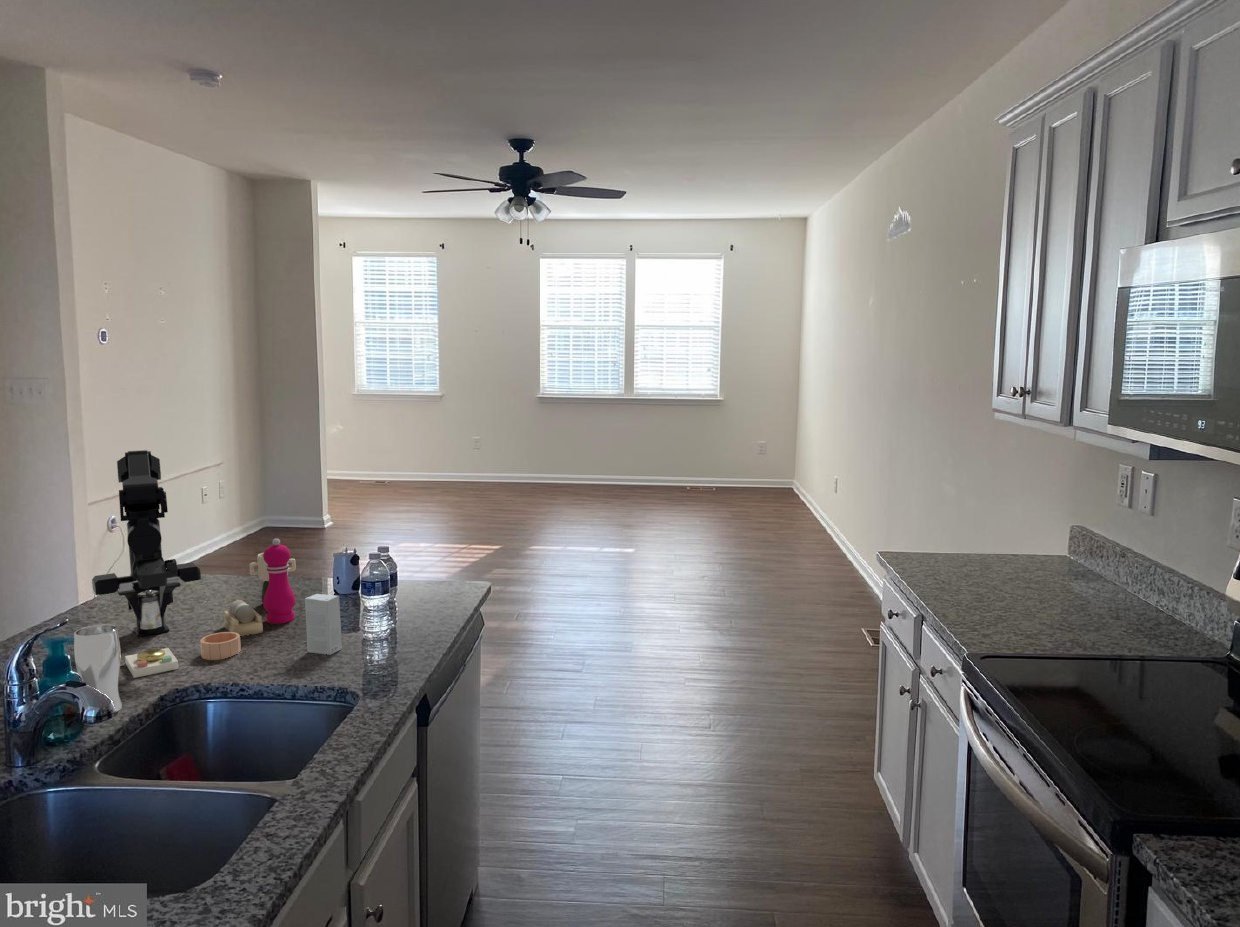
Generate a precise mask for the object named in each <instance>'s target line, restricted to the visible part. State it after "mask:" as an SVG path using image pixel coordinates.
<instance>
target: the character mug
mask: <svg viewBox="0 0 1240 927" xmlns="http://www.w3.org/2000/svg"><path fill="white" fill-rule="evenodd" d="M263 555H264V552H261V553H258V554H257V557H256V558H257V559H256V560H257V561H255V562H250V563H249V565H248V567H249V574H250V576H257V577H258V578H259V579H260V581H264V582H263V583H262V589H261V603H263V601H264V596H265V593H266V591H267V588H268V584H269V573H268V572H267V571H266V570H267V568H266V566H267V565H268V564H267V563H266V562H265V561H264V558H263ZM290 563H291V567H288V568H289V570H288V571H287V576H288V574H289V572H295V571H296V569H297V565H296V559H295V558H290V559H289V561H288V562H287V564H290ZM255 567H257V571H255Z"/></svg>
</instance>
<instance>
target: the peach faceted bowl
mask: <svg viewBox="0 0 1240 927" xmlns="http://www.w3.org/2000/svg"><path fill="white" fill-rule="evenodd" d="M199 644H200V647H199V648H200V657H201V658H202V659H204V660H209V661H218V660H225V658H226V659H229V658H228V657H230V658H232V657H231V656H233V655H235V654H238V655H239V654H240V653H241V652H242V646H241V644H242V643H241V637H240V635H239V634H238V633H234V632H229V631H221V632H216V633H215V632H214V633H211V634H208V635H205V636H203V637H202V638H201V639H200V640H199ZM240 651H241V652H240ZM239 652H240V653H239ZM235 656H236V655H235ZM233 657H234V656H233Z"/></svg>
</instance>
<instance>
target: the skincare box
mask: <svg viewBox="0 0 1240 927" xmlns="http://www.w3.org/2000/svg"><path fill="white" fill-rule="evenodd" d="M340 605H341V604H340V596H339V595H333V594H322V593H315V594H312V595H310V596H308V597H305V598H304V608H305V610H304V611H305V612H304V614H305V626H306V627H305V629H306V648H307V653H310V654H311V653H312V654H319V655H320V654H321V655H326V654H327V655H328V656H329V655H330V656H331V655H333V654H334V653H336V652H338V651H340V650H342V648H343V645H342V626H341V609H340V608H341V606H340ZM327 655H326V656H327Z"/></svg>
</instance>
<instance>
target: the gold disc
mask: <svg viewBox="0 0 1240 927" xmlns="http://www.w3.org/2000/svg"><path fill="white" fill-rule="evenodd" d="M161 649H162V648H160V649H156V648H154V649H148V650H144V651H141V652H140V653H139V652H138V653H137V654H138V655H137V660H138V661H144V660H146V661H147V662H149V661H155V660H158V659H161V657H164V656H165V651H164V650H161Z"/></svg>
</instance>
